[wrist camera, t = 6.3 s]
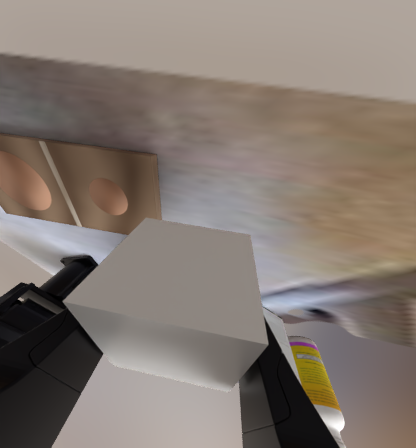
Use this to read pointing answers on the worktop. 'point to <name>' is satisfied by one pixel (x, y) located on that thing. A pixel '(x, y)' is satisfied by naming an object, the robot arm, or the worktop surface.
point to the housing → (176, 304)
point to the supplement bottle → (317, 384)
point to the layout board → (78, 183)
